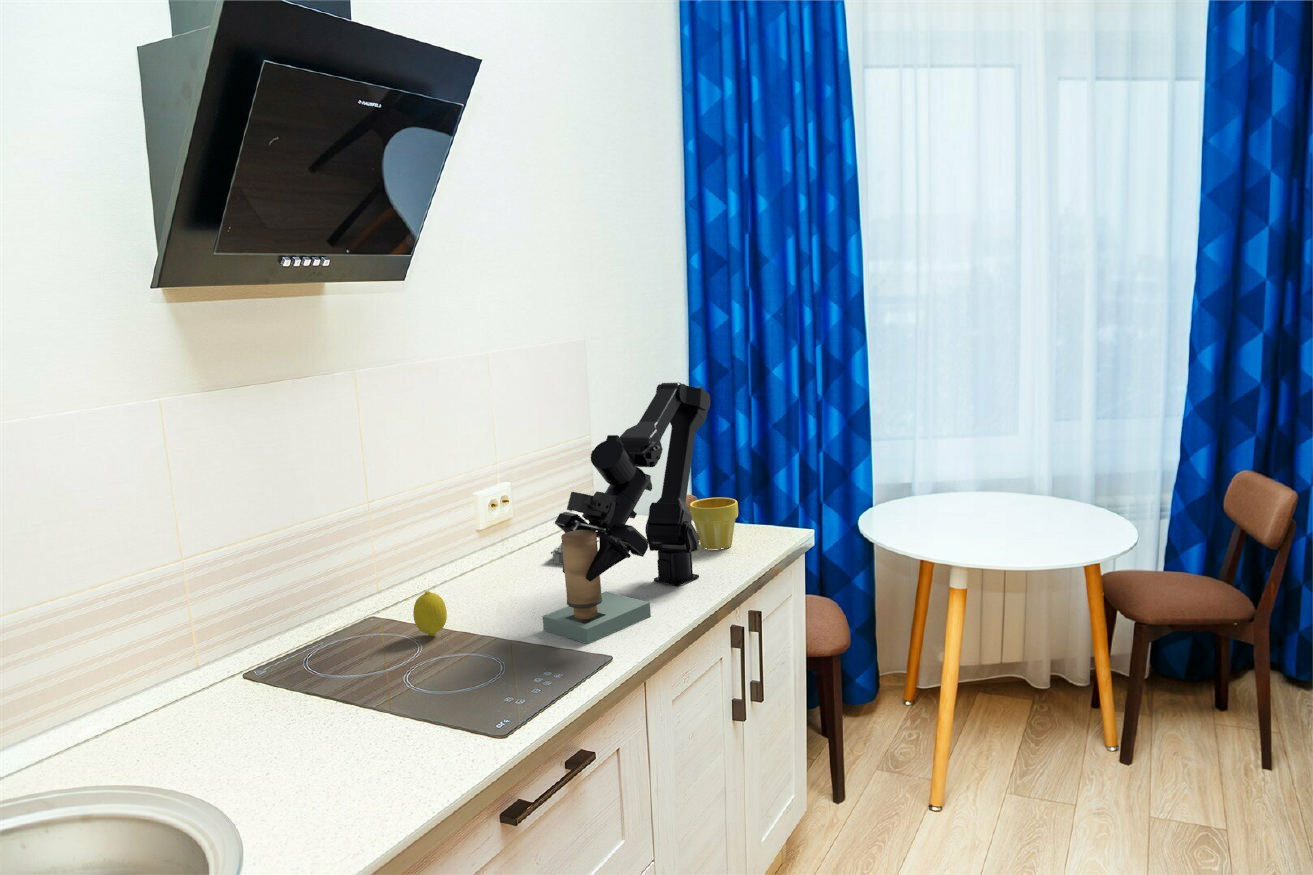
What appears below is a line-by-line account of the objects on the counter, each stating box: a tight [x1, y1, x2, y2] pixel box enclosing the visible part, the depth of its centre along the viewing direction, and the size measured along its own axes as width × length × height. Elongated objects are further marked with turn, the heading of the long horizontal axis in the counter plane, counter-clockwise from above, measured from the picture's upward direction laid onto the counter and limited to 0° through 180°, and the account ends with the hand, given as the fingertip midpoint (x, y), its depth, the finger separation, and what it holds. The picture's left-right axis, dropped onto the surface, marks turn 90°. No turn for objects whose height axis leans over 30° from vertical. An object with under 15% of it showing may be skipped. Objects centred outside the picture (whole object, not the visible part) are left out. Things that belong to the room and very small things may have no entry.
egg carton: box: [549, 539, 599, 565], centre depth 203 cm, size 11×8×4 cm
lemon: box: [412, 590, 448, 637], centre depth 161 cm, size 6×6×8 cm
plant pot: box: [689, 497, 739, 549], centre depth 203 cm, size 10×10×10 cm
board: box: [541, 591, 652, 645], centre depth 162 cm, size 15×11×2 cm
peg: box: [561, 530, 602, 619], centre depth 157 cm, size 6×6×14 cm
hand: (576, 576), depth 156 cm, fingers closed on peg, 6 cm apart
